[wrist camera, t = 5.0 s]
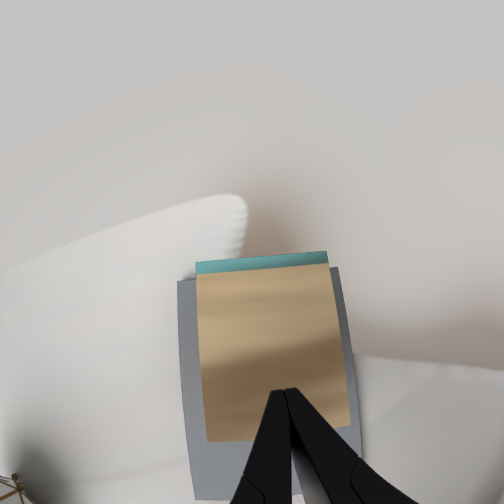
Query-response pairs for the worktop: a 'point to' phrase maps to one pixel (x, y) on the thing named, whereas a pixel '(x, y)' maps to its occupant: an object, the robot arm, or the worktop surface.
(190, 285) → the mat
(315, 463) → the robot arm
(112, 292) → the worktop surface
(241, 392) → the oak block
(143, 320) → the worktop surface
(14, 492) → the game die
